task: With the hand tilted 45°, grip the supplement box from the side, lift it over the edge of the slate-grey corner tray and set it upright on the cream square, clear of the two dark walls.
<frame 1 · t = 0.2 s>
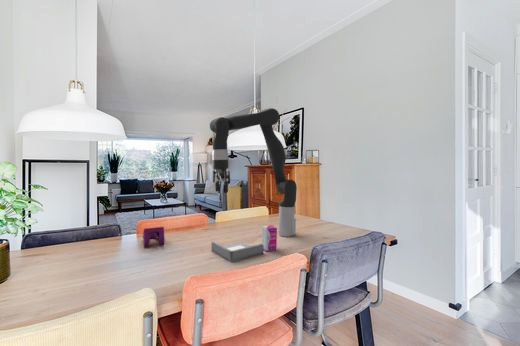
hand: (221, 192, 129), 29 cm above the table, tool pointing down, fingers open, 8 cm apart
mounting bracket: (152, 243, 141), on the table
corner tray: (237, 252, 126), on the table
supplement box: (269, 249, 131), on the table
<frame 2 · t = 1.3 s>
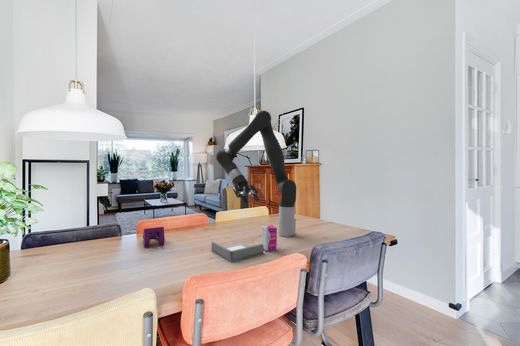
hand: (252, 201, 137), 23 cm above the table, tool tilted 45°, fingers open, 8 cm apart
nothing on the table moved.
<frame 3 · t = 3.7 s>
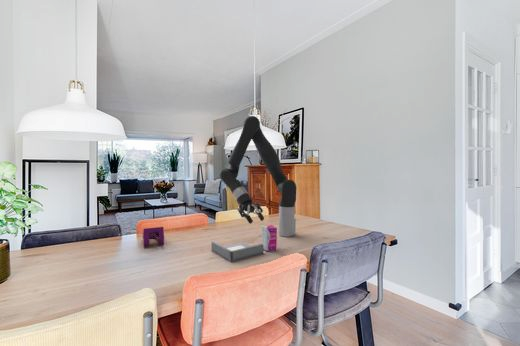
hand: (257, 221, 135), 13 cm above the table, tool tilted 45°, fingers open, 8 cm apart
nothing on the table moved.
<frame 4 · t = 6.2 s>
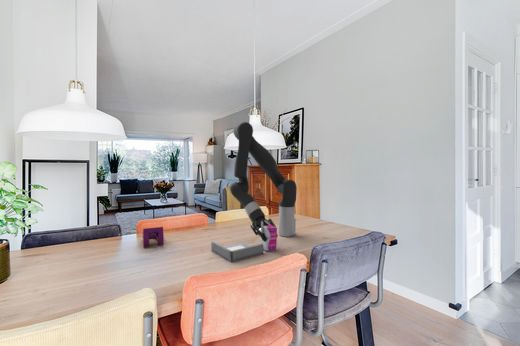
hand: (271, 238, 129), 6 cm above the table, tool tilted 45°, fingers closed on supplement box, 7 cm apart
supplement box: (269, 249, 131), on the table, touching gripper
everything else where it was.
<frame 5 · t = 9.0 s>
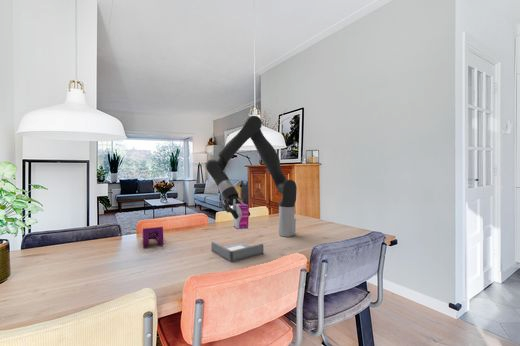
hand: (243, 216, 127), 17 cm above the table, tool tilted 45°, fingers closed on supplement box, 7 cm apart
supplement box: (240, 228, 128), point 11 cm above the table, touching gripper
everything else where it was.
when the fingers open (8 cm above the table, at t = 11.9 s): supplement box drops 1 cm, resting on corner tray.
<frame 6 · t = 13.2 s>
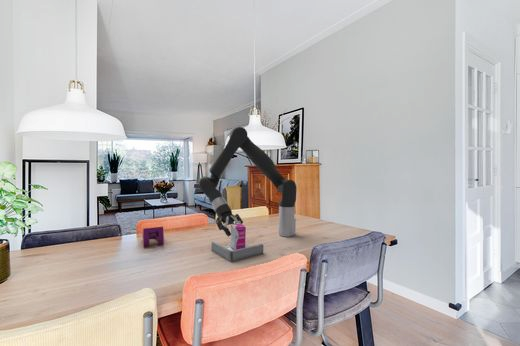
hand: (236, 233, 129), 8 cm above the table, tool tilted 45°, fingers open, 8 cm apart
supplement box: (238, 249, 129), point 1 cm above the table, touching corner tray
everything else where it was.
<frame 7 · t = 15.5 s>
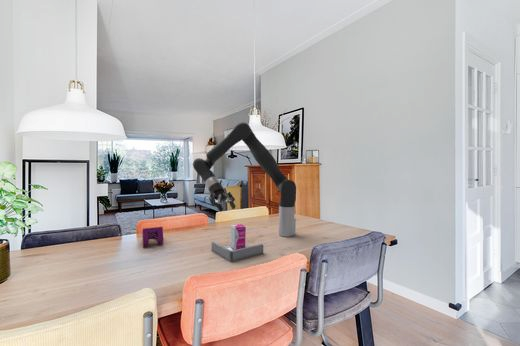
hand: (228, 209, 138), 18 cm above the table, tool tilted 45°, fingers open, 8 cm apart
nothing on the table moved.
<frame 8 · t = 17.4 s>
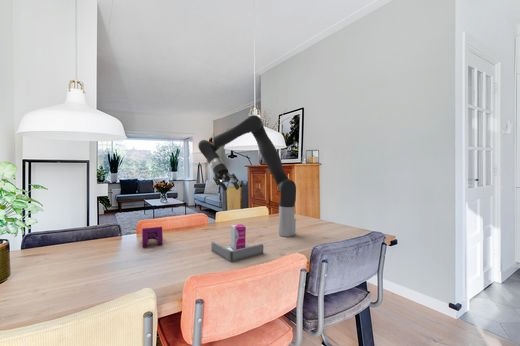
hand: (232, 189, 141), 29 cm above the table, tool tilted 45°, fingers open, 8 cm apart
nothing on the table moved.
at the end: supplement box 0.3 cm from the target spot on the corner tray, point 0.7 cm above the corner tray's base; supplement box tilted 0°; the gripper is holding nothing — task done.
